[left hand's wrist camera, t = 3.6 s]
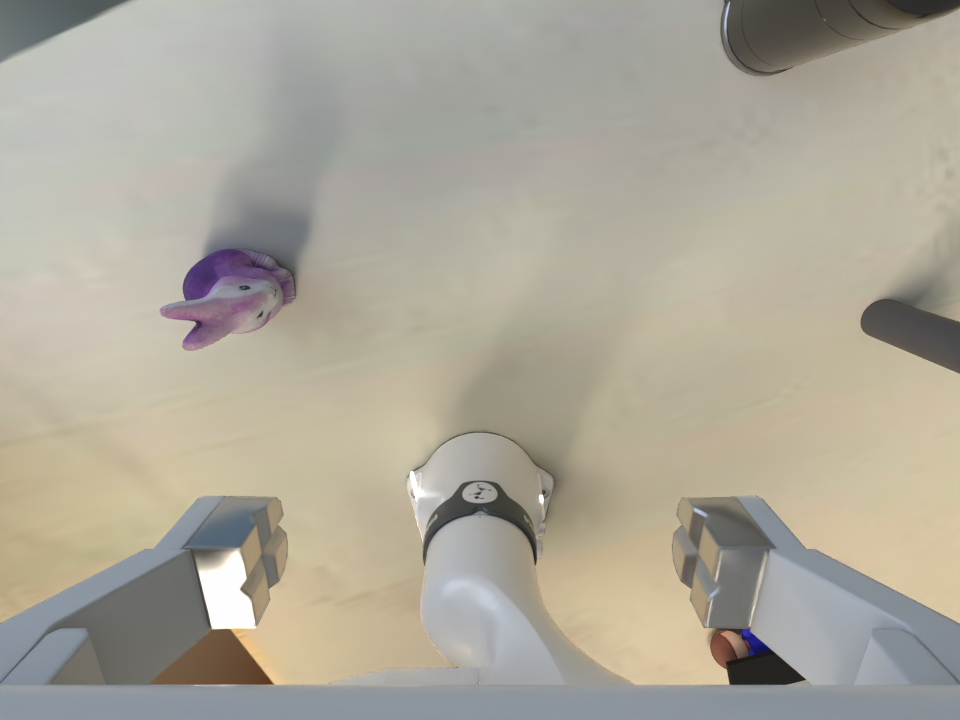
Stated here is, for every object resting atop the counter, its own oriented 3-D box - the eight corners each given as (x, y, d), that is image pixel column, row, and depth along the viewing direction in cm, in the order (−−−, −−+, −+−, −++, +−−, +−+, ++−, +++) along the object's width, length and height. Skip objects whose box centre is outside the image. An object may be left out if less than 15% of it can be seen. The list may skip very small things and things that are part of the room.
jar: (907, 314, 59) (1048, 361, 44) (876, 343, 60) (1003, 398, 45) (883, 291, 58) (1018, 332, 43) (852, 321, 59) (973, 370, 44)
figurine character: (798, 591, 74) (700, 624, 74) (839, 634, 67) (730, 671, 67) (802, 625, 76) (707, 657, 76) (842, 670, 69) (737, 705, 69)
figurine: (317, 280, 57) (264, 316, 43) (260, 340, 59) (191, 393, 45) (249, 216, 55) (169, 232, 41) (192, 282, 57) (98, 318, 43)
